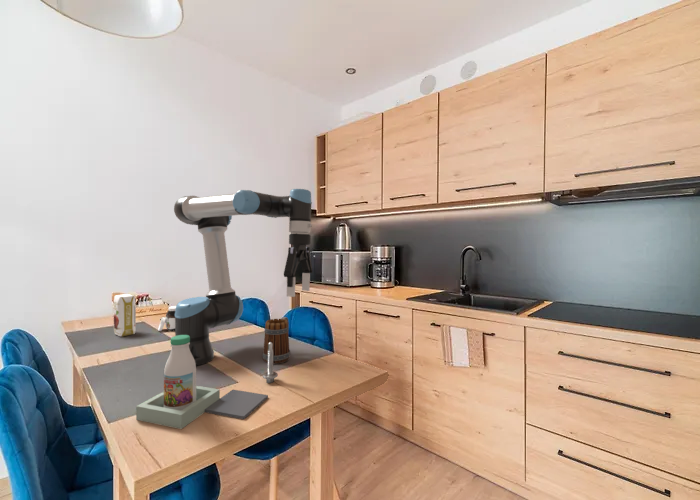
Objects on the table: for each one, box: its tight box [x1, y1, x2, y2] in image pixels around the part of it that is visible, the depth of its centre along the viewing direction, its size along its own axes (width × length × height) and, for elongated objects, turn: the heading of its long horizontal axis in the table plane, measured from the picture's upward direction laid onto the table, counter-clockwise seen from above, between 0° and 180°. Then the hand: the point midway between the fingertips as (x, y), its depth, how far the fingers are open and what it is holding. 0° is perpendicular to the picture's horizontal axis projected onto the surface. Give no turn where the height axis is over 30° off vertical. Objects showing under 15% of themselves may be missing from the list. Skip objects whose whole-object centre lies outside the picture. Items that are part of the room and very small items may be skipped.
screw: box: [262, 342, 279, 384], centre depth 104 cm, size 13×5×5 cm
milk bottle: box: [163, 335, 197, 411], centre depth 85 cm, size 8×8×20 cm
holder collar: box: [135, 385, 221, 430], centre depth 86 cm, size 14×14×4 cm
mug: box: [262, 316, 291, 365], centre depth 126 cm, size 16×11×15 cm
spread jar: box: [157, 305, 176, 332], centre depth 163 cm, size 12×11×12 cm
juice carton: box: [113, 293, 137, 337], centre depth 154 cm, size 8×9×19 cm
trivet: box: [204, 389, 269, 420], centre depth 89 cm, size 12×12×1 cm
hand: (298, 293), depth 113 cm, fingers open, 13 cm apart
